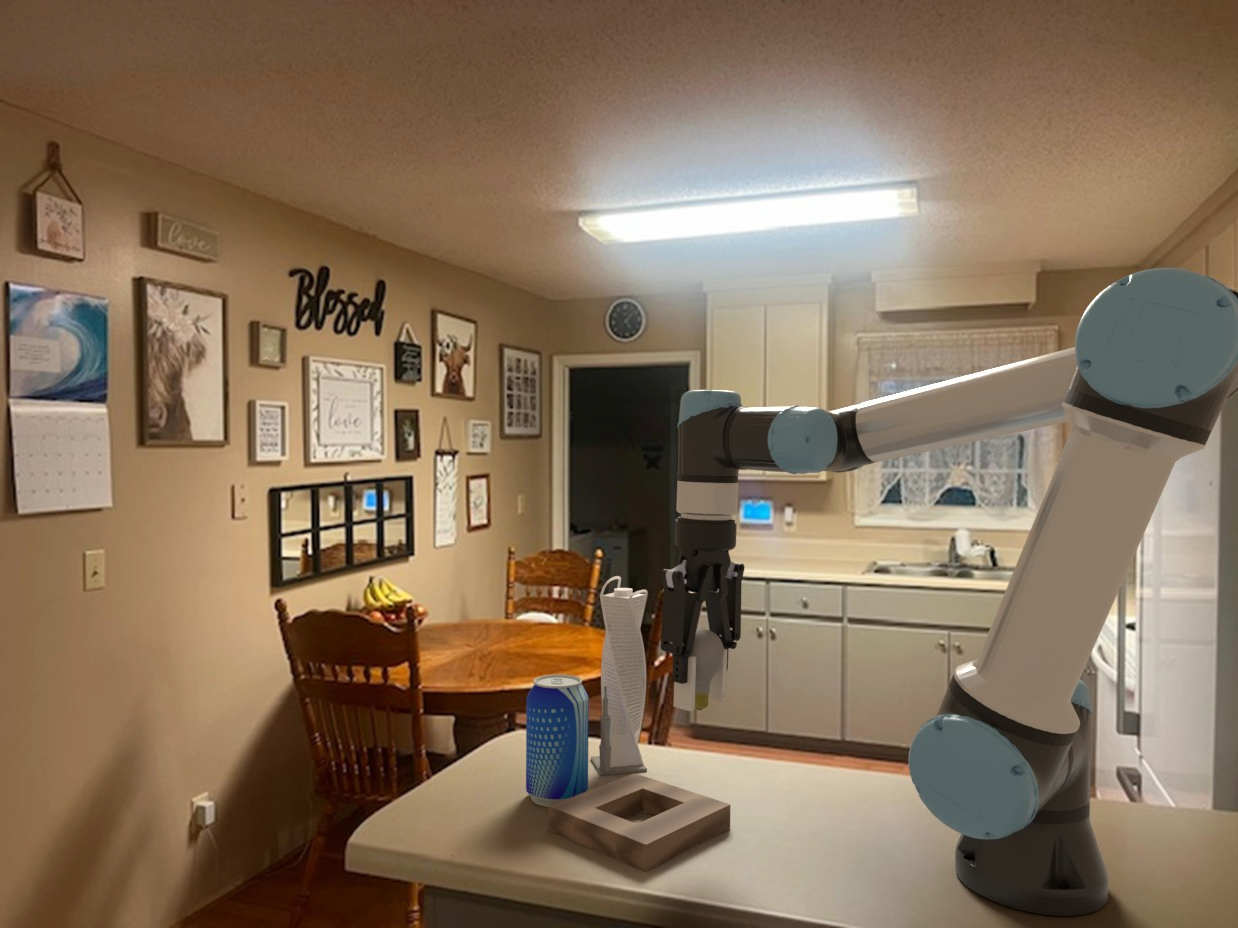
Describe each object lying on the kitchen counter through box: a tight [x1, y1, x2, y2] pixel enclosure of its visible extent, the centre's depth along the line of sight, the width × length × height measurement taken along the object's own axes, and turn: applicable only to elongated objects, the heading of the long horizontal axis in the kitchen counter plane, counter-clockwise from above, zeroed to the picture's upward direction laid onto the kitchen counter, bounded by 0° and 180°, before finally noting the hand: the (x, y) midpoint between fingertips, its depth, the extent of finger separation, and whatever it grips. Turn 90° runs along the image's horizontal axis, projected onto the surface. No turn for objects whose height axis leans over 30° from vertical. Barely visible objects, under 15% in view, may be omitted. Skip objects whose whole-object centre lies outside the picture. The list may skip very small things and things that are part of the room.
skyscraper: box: [590, 575, 649, 776], centre depth 134 cm, size 8×8×28 cm
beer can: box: [525, 674, 590, 808], centre depth 120 cm, size 8×8×16 cm
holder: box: [548, 772, 731, 872], centre depth 110 cm, size 16×16×3 cm
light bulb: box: [683, 628, 724, 711], centre depth 109 cm, size 6×6×10 cm
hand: (699, 703), depth 109 cm, fingers closed on light bulb, 5 cm apart
